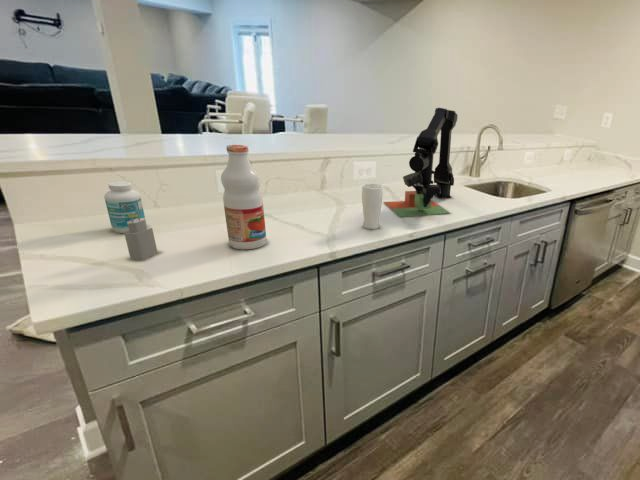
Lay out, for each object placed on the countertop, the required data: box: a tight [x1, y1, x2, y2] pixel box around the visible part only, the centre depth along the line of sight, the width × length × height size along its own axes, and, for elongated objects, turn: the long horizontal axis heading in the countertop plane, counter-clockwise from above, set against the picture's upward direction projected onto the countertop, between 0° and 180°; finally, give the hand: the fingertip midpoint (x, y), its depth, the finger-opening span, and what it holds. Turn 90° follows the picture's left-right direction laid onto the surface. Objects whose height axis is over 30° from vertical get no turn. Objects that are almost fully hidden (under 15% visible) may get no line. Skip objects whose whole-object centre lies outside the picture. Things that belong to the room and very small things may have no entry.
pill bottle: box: [104, 181, 147, 234], centre depth 107 cm, size 8×7×14 cm
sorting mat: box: [384, 199, 451, 218], centre depth 162 cm, size 22×18×1 cm
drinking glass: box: [361, 183, 383, 230], centre depth 133 cm, size 7×7×15 cm
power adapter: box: [123, 210, 159, 262], centre depth 95 cm, size 3×5×12 cm, turn 177°
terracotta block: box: [404, 190, 416, 206], centre depth 164 cm, size 5×5×5 cm
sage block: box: [414, 194, 432, 209], centre depth 156 cm, size 5×5×5 cm
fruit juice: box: [220, 144, 267, 250], centre depth 106 cm, size 9×9×28 cm
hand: (422, 204), depth 157 cm, fingers closed on sage block, 5 cm apart
